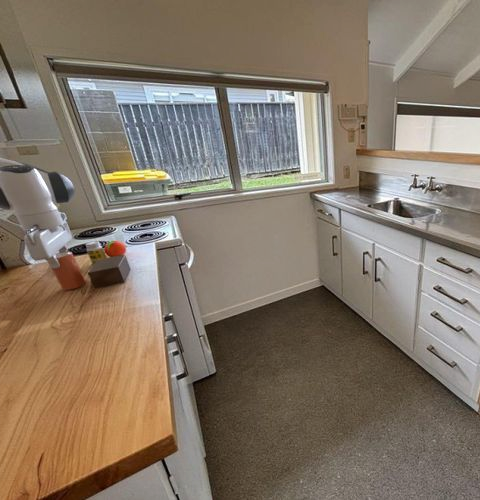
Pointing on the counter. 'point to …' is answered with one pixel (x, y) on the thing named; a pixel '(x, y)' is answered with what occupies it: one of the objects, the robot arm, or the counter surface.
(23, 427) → the counter surface
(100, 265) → the walnut block
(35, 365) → the counter surface
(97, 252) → the supplement bottle
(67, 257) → the cup
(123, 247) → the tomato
